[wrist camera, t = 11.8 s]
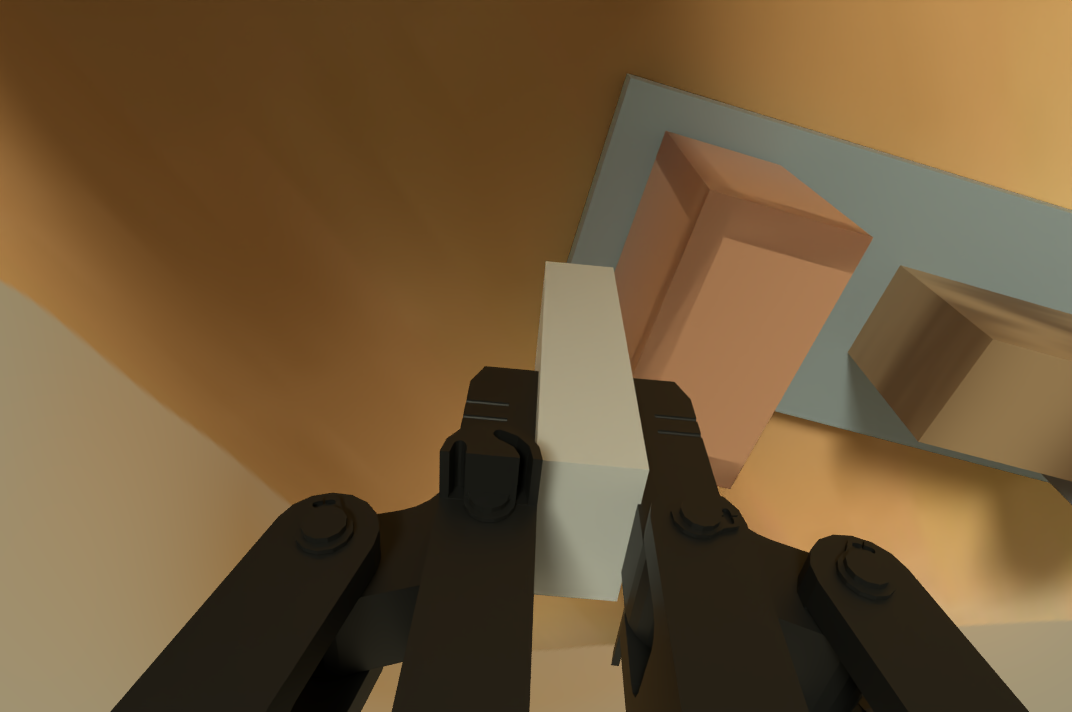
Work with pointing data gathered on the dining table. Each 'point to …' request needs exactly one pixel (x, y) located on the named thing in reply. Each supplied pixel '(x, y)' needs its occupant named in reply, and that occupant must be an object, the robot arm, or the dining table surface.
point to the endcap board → (870, 202)
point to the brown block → (973, 370)
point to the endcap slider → (729, 286)
